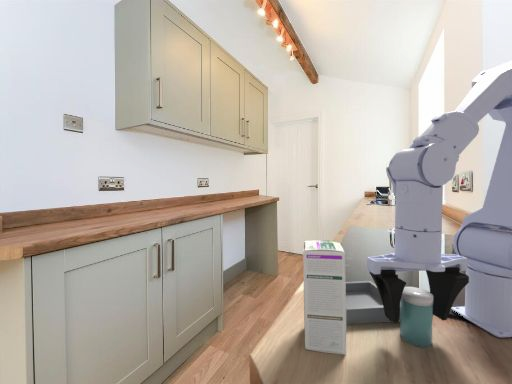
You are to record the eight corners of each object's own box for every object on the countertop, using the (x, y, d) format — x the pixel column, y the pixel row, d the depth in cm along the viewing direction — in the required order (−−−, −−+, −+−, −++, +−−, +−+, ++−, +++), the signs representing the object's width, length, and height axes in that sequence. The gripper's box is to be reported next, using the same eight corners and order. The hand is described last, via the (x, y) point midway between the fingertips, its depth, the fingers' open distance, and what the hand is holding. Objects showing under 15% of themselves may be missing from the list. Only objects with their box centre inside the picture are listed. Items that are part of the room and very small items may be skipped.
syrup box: (347, 356, 32) (348, 250, 31) (303, 350, 33) (303, 248, 32) (340, 330, 37) (341, 240, 37) (303, 326, 38) (303, 239, 38)
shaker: (417, 328, 38) (418, 286, 37) (439, 346, 33) (440, 298, 33) (393, 330, 37) (394, 287, 37) (413, 348, 33) (413, 300, 33)
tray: (370, 292, 50) (370, 280, 50) (405, 320, 40) (405, 306, 40) (323, 294, 49) (323, 283, 49) (346, 324, 39) (346, 309, 39)
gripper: (388, 235, 30) (386, 338, 31) (491, 232, 31) (487, 331, 32) (359, 225, 37) (358, 309, 38) (444, 223, 38) (442, 304, 39)
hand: (415, 317), depth 35 cm, fingers open, 7 cm apart
